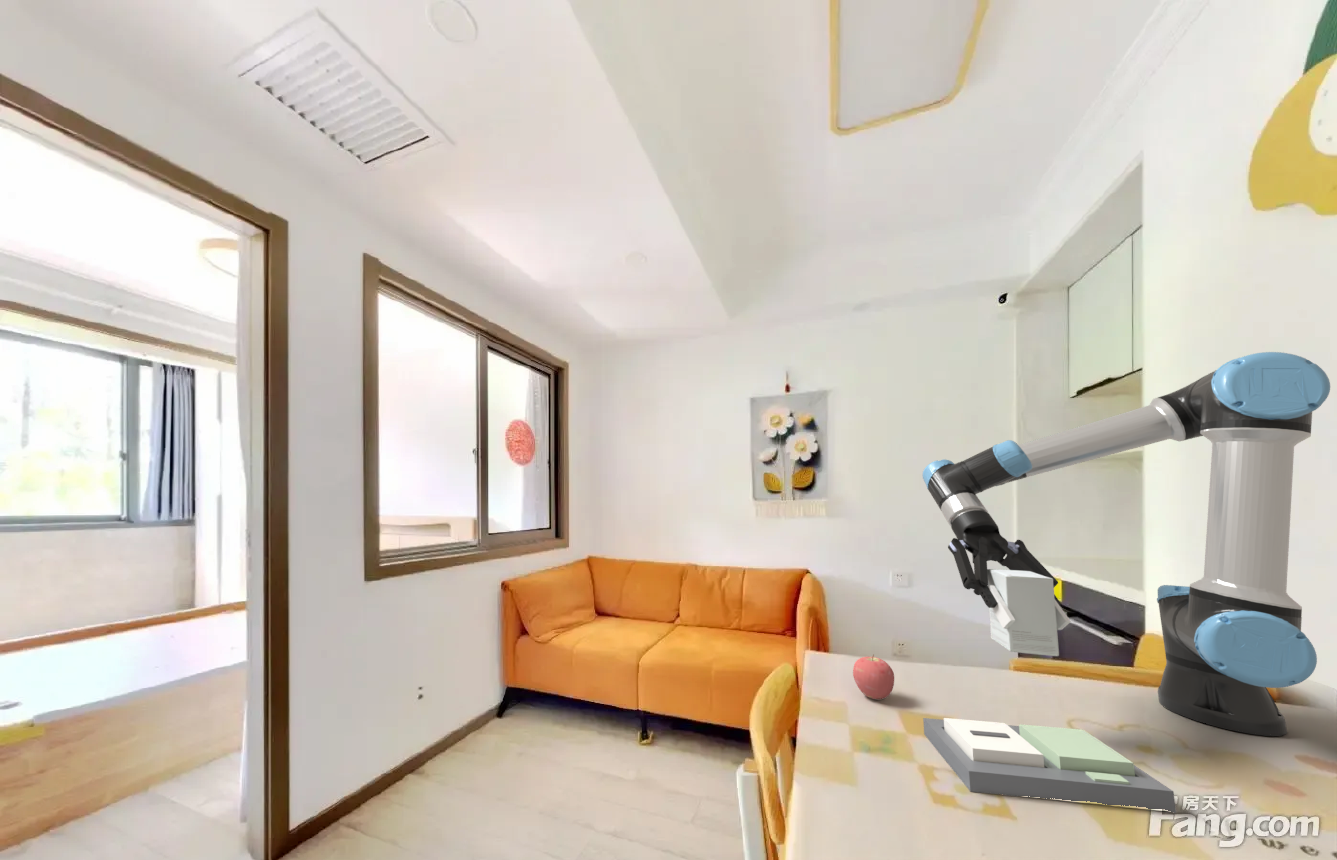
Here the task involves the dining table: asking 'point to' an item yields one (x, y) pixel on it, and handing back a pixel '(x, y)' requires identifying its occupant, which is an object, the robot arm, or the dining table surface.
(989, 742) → the grey flat rectangular block
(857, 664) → the apple
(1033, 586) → the supplement box
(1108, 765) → the key
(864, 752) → the dining table surface
